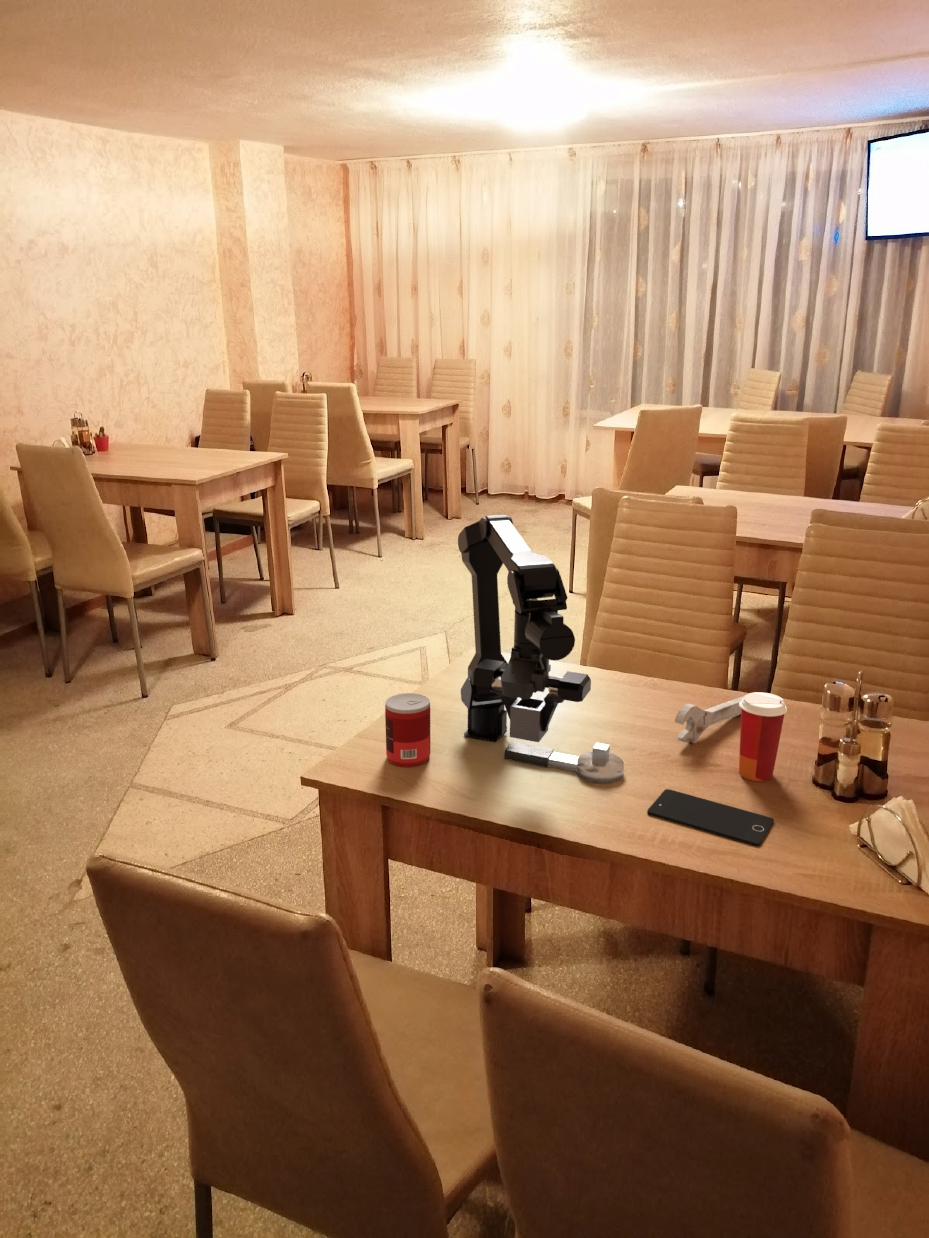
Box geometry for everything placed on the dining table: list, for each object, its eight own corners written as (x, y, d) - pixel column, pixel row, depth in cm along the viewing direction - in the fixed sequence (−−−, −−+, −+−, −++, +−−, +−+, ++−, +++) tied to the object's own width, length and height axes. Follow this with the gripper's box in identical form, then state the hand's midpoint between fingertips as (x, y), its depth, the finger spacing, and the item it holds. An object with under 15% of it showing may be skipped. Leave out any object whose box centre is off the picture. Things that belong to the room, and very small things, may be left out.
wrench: (757, 720, 192) (678, 751, 171) (748, 717, 193) (669, 748, 172) (763, 682, 190) (684, 709, 169) (755, 680, 191) (676, 706, 170)
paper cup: (779, 767, 166) (788, 694, 162) (778, 787, 159) (787, 711, 155) (733, 760, 168) (741, 688, 164) (730, 780, 162) (738, 705, 157)
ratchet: (500, 764, 167) (500, 738, 165) (515, 745, 174) (515, 720, 172) (616, 786, 159) (618, 760, 157) (627, 766, 166) (629, 740, 164)
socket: (509, 737, 154) (510, 706, 153) (519, 725, 159) (520, 695, 157) (538, 742, 153) (539, 711, 151) (548, 730, 157) (549, 699, 155)
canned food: (439, 757, 169) (439, 700, 166) (407, 772, 164) (406, 714, 160) (409, 744, 174) (409, 688, 171) (377, 758, 169) (376, 701, 165)
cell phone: (758, 849, 142) (759, 844, 142) (645, 816, 151) (646, 810, 151) (774, 823, 149) (775, 818, 149) (665, 792, 158) (665, 787, 158)
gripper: (458, 646, 147) (458, 737, 152) (574, 663, 140) (570, 758, 145) (484, 625, 156) (483, 711, 161) (594, 640, 150) (589, 730, 155)
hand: (529, 727), depth 155 cm, fingers closed on socket, 5 cm apart
